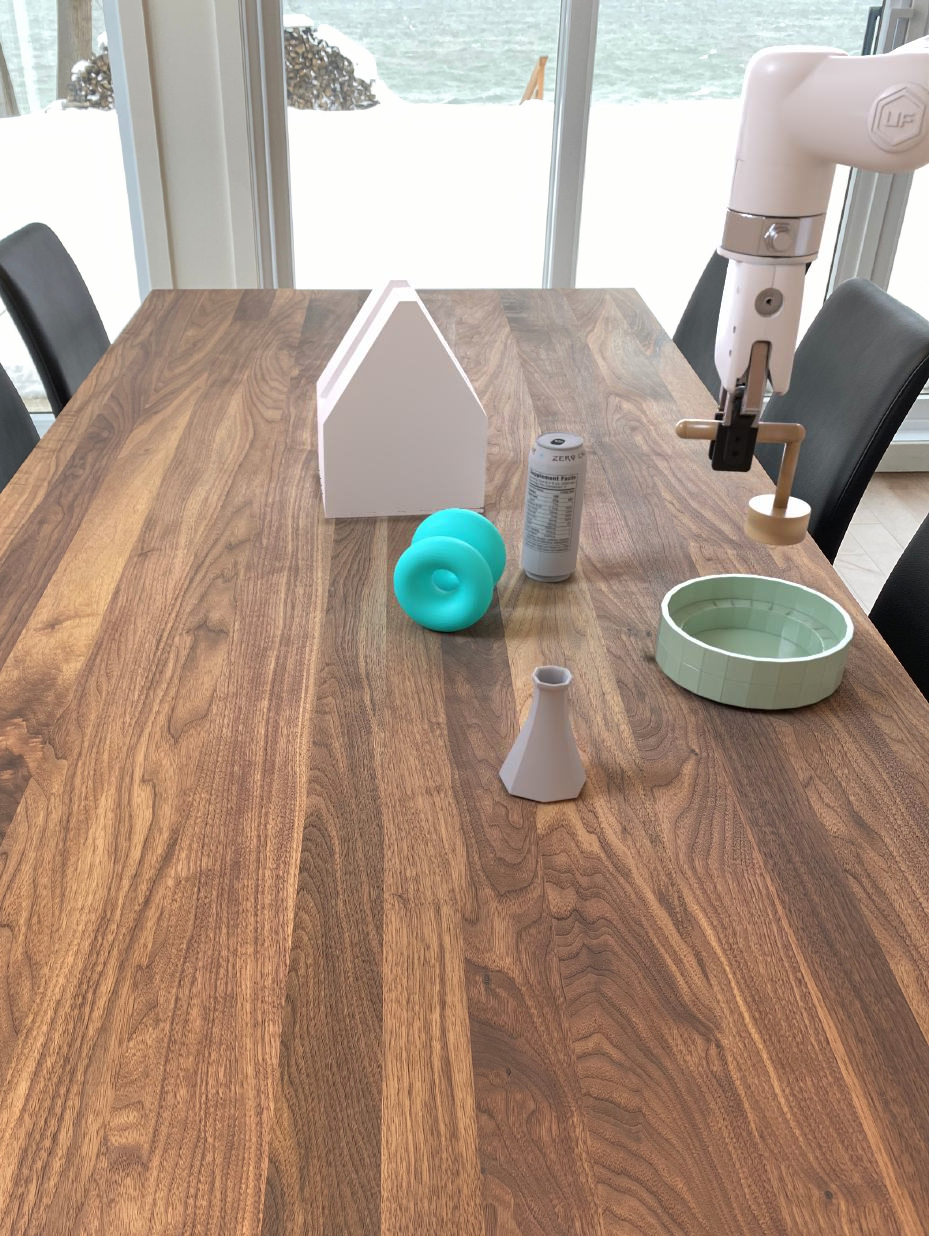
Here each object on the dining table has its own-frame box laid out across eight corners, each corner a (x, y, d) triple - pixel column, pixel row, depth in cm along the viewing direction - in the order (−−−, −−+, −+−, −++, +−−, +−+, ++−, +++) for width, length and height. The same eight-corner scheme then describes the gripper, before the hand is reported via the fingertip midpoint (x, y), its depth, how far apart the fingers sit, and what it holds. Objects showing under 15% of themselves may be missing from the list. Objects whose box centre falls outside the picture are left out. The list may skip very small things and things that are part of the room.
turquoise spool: (505, 597, 125) (511, 509, 119) (487, 642, 117) (493, 550, 111) (413, 586, 127) (415, 499, 121) (389, 630, 119) (390, 538, 113)
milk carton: (325, 518, 142) (319, 303, 128) (319, 471, 155) (313, 270, 141) (483, 512, 143) (495, 298, 129) (464, 465, 156) (473, 266, 142)
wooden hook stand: (799, 523, 105) (823, 415, 100) (810, 547, 101) (835, 436, 96) (658, 515, 107) (674, 409, 101) (662, 540, 102) (679, 429, 97)
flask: (584, 756, 101) (596, 654, 95) (588, 807, 95) (602, 702, 89) (498, 751, 101) (505, 650, 96) (498, 802, 95) (505, 697, 90)
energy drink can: (583, 567, 131) (598, 435, 122) (562, 589, 126) (575, 453, 118) (533, 556, 133) (544, 426, 125) (511, 576, 129) (520, 443, 120)
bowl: (822, 628, 119) (834, 579, 116) (857, 721, 105) (871, 667, 102) (649, 618, 121) (656, 569, 118) (660, 707, 107) (668, 655, 104)
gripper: (841, 258, 83) (788, 503, 94) (803, 215, 96) (760, 435, 107) (732, 255, 84) (692, 499, 95) (709, 213, 97) (675, 431, 108)
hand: (728, 463), depth 101 cm, fingers closed on wooden hook stand, 1 cm apart
